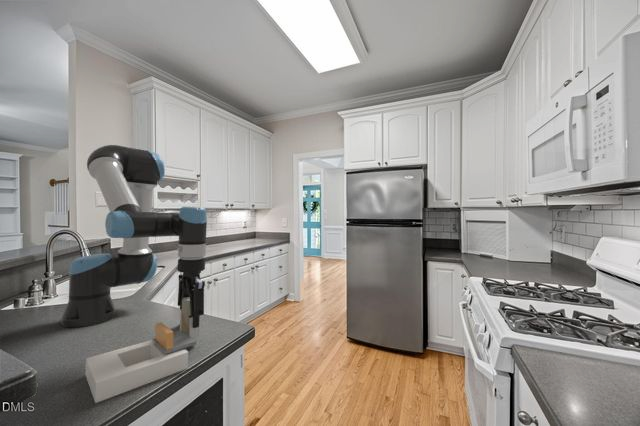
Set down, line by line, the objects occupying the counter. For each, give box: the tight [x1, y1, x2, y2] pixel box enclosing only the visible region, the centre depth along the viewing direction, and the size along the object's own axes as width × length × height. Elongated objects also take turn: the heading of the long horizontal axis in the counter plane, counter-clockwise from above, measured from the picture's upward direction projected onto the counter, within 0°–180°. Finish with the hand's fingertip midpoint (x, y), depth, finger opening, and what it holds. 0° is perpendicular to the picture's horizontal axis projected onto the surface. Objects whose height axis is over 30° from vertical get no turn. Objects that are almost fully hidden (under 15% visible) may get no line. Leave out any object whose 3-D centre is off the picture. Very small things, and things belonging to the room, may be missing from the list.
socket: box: [85, 339, 189, 404], centre depth 66 cm, size 14×18×4 cm
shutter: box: [152, 321, 197, 354], centre depth 72 cm, size 9×8×5 cm
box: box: [181, 297, 191, 335], centre depth 82 cm, size 5×4×11 cm
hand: (189, 334), depth 82 cm, fingers closed on box, 6 cm apart
